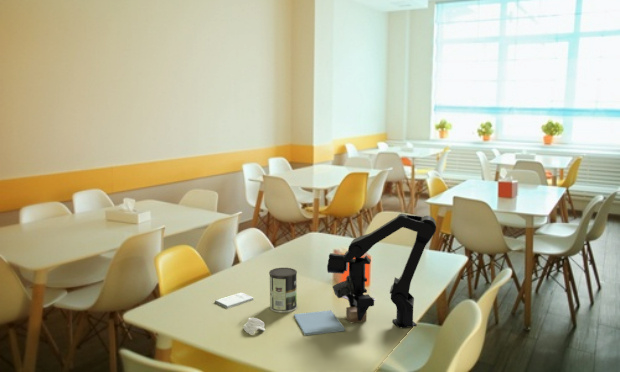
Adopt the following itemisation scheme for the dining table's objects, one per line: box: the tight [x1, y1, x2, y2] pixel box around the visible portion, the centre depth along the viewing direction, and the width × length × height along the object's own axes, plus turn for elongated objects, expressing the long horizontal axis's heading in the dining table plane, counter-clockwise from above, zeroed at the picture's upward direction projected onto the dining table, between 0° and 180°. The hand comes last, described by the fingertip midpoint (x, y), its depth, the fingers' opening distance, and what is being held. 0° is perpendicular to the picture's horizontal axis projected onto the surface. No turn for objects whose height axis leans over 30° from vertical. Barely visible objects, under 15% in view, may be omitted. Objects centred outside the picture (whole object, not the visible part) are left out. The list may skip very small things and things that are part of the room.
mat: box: [293, 310, 346, 336], centre depth 182 cm, size 16×14×1 cm
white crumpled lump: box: [242, 317, 266, 335], centre depth 176 cm, size 8×7×5 cm
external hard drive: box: [214, 291, 254, 309], centre depth 202 cm, size 2×8×12 cm
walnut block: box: [345, 306, 368, 324], centre depth 185 cm, size 4×6×4 cm
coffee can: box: [268, 267, 298, 314], centre depth 195 cm, size 10×10×14 cm
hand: (356, 316), depth 185 cm, fingers open, 7 cm apart
